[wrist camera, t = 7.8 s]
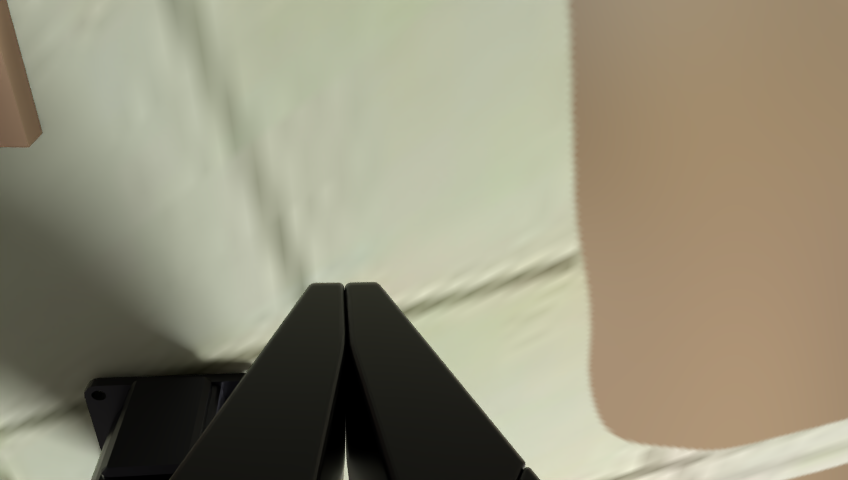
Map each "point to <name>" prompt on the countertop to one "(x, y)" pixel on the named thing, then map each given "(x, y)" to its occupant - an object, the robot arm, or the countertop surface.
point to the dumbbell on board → (14, 90)
